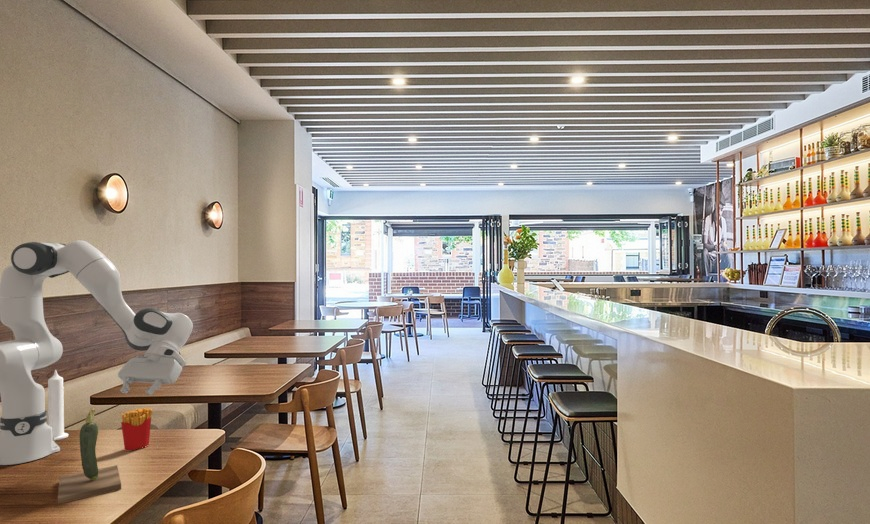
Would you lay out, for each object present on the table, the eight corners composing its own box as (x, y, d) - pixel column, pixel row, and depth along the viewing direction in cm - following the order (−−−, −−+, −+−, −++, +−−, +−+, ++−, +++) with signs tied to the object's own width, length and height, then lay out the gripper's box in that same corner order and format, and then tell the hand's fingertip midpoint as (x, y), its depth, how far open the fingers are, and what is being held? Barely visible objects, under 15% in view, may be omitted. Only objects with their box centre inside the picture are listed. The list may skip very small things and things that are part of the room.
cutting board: (59, 482, 144) (59, 477, 144) (117, 470, 152) (117, 465, 152) (57, 504, 130) (57, 498, 130) (121, 489, 138) (121, 483, 138)
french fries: (123, 452, 167) (122, 413, 167) (120, 449, 170) (120, 411, 170) (154, 445, 173) (153, 408, 173) (151, 442, 176) (150, 405, 176)
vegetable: (84, 484, 138) (83, 412, 138) (77, 481, 140) (76, 410, 141) (102, 479, 142) (100, 408, 142) (94, 476, 144) (93, 406, 144)
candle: (55, 441, 180) (54, 372, 180) (39, 440, 181) (38, 371, 182) (73, 435, 187) (72, 368, 187) (57, 434, 188) (56, 367, 189)
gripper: (129, 349, 166) (102, 385, 157) (180, 351, 161) (156, 389, 152) (140, 360, 171) (115, 396, 161) (190, 363, 166) (167, 400, 156)
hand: (135, 393), depth 156 cm, fingers open, 8 cm apart
